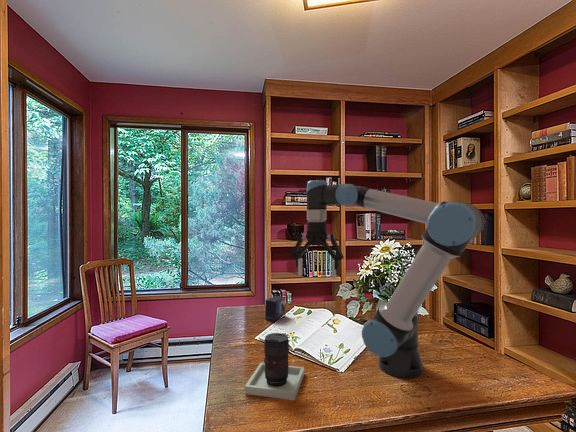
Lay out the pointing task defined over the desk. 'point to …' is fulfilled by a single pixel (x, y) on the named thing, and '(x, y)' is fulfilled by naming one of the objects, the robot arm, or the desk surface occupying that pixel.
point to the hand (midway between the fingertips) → (316, 276)
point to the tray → (287, 391)
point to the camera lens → (276, 359)
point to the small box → (274, 308)
